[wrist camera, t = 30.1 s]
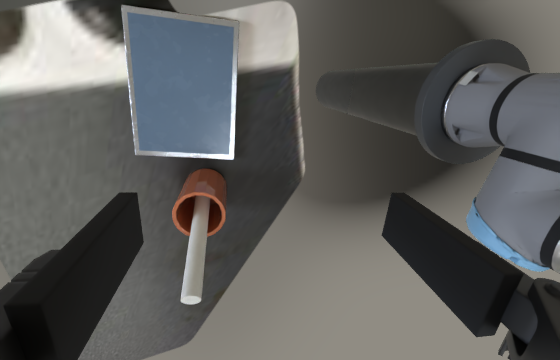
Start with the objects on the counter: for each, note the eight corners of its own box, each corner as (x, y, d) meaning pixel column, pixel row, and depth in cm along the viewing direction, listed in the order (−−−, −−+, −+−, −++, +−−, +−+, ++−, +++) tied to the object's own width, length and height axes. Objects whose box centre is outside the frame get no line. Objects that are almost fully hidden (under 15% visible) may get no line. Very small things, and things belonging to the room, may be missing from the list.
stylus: (212, 173, 44) (200, 295, 29) (212, 182, 45) (201, 303, 30) (198, 172, 43) (179, 296, 28) (198, 182, 45) (181, 305, 30)
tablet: (239, 22, 37) (239, 21, 36) (233, 158, 44) (233, 159, 43) (123, 6, 35) (120, 4, 34) (137, 153, 41) (134, 155, 40)
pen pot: (227, 169, 45) (226, 192, 36) (226, 206, 47) (224, 237, 38) (184, 167, 43) (171, 191, 34) (185, 205, 46) (173, 237, 37)
